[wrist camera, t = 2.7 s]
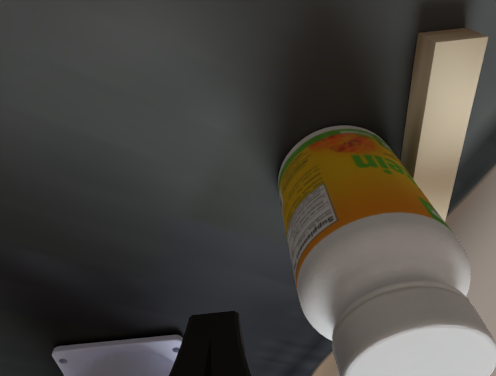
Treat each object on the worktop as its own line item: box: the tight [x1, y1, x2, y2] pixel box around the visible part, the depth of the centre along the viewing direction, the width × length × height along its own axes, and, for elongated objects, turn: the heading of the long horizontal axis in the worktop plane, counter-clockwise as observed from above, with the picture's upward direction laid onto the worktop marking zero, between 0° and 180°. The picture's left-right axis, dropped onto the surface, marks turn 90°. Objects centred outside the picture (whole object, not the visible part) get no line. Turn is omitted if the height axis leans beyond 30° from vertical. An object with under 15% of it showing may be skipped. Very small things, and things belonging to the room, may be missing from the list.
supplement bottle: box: [278, 125, 496, 376], centre depth 14 cm, size 5×5×10 cm
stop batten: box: [400, 28, 488, 222], centre depth 18 cm, size 13×2×2 cm, turn 6°
